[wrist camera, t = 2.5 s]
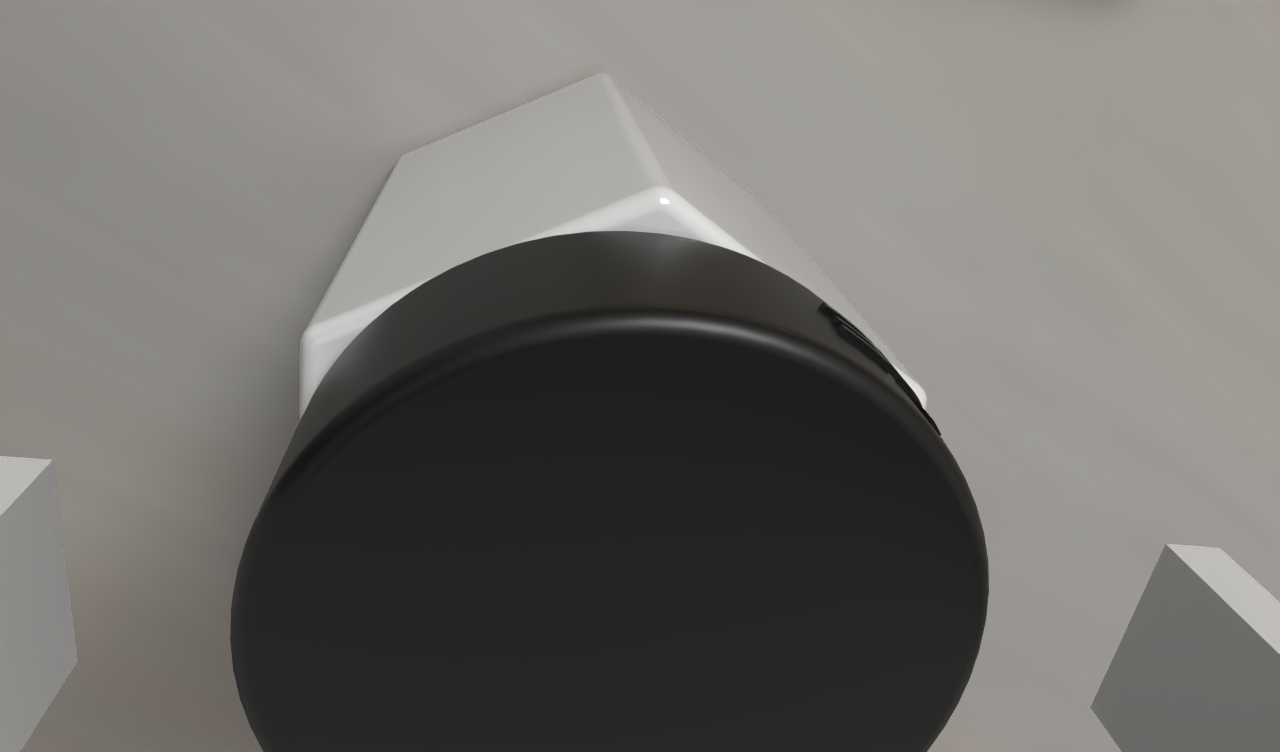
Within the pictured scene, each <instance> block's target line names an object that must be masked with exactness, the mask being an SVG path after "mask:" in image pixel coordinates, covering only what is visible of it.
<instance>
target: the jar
mask: <svg viewBox="0 0 1280 752" xmlns="http://www.w3.org/2000/svg"><path fill="white" fill-rule="evenodd" d="M926 406H927V396H926V394H925V391H924V389H923V388H922V386H921V385H920V384H919V383H918V382H917V381H916V379H915V378H914V377H913V376H912V375H911V374H910V372H909V371H908V370H907V369H906V368H905V367H904V365H903V364H902V363H901V362H900V361H899V360H898V358H897V357H896V356H895V355H894V354H893V353H892V351H891V350H890V349H889V348H888V347H887V346H886V344H885V343H884V342H883V341H882V340H881V339H880V337H879V336H878V335H877V334H876V333H875V332H874V330H873V329H872V328H871V327H870V326H869V325H868V323H867V322H866V321H865V320H864V319H863V318H862V316H861V315H860V314H859V313H858V312H857V310H856V309H855V308H854V307H853V306H852V305H851V303H850V302H849V301H848V300H847V299H846V298H845V296H844V295H843V294H842V293H841V292H840V291H839V289H838V288H837V287H836V286H835V285H834V284H833V282H832V281H831V280H830V279H829V278H828V277H827V275H826V274H825V273H824V272H823V271H822V270H821V268H820V267H819V266H818V265H817V264H816V262H815V261H814V260H813V259H812V258H811V257H810V255H809V254H808V253H807V252H806V251H805V250H804V248H803V247H802V246H801V245H800V244H799V243H798V241H797V240H796V239H795V238H794V237H793V236H792V234H791V233H790V232H789V231H788V230H787V229H786V227H785V226H784V225H783V224H782V223H781V222H780V220H779V219H778V218H777V217H776V216H775V214H774V213H773V212H772V211H771V210H770V209H769V207H768V206H767V205H766V204H765V203H764V202H763V201H762V200H761V199H759V198H758V197H757V196H756V195H755V194H753V193H752V192H751V191H750V190H749V189H747V188H746V187H745V186H744V185H742V184H741V183H740V182H739V181H738V180H736V179H735V178H734V177H733V176H732V175H730V174H729V173H728V172H727V171H725V170H724V169H723V168H722V167H721V166H719V165H718V164H717V163H716V162H714V161H713V160H712V159H711V158H710V157H708V156H707V155H706V154H705V153H704V152H702V151H701V150H700V149H699V148H697V147H696V146H695V145H694V144H693V143H691V142H690V141H689V140H688V139H687V138H685V137H684V136H683V135H682V134H680V133H679V132H678V131H677V130H676V129H674V128H673V127H672V126H671V125H669V124H668V123H667V122H666V121H665V120H663V119H662V118H661V117H660V116H659V115H657V114H656V113H655V112H654V111H652V110H651V109H650V108H649V107H648V106H646V105H645V104H644V103H643V102H642V101H640V100H639V99H638V98H637V97H635V96H634V95H633V94H632V93H631V92H629V91H628V90H627V89H626V88H624V87H623V86H622V85H621V84H620V83H618V82H617V81H616V80H615V79H614V78H612V77H611V76H609V75H607V74H604V73H600V74H595V75H593V76H591V77H588V78H586V79H584V80H581V81H579V82H576V83H574V84H572V85H569V86H567V87H565V88H562V89H560V90H558V91H555V92H553V93H550V94H548V95H546V96H543V97H541V98H538V99H536V100H534V101H531V102H529V103H526V104H524V105H522V106H519V107H517V108H514V109H512V110H510V111H507V112H505V113H503V114H500V115H498V116H495V117H493V118H491V119H488V120H486V121H483V122H481V123H479V124H476V125H474V126H471V127H469V128H467V129H464V130H462V131H459V132H457V133H455V134H452V135H450V136H447V137H445V138H443V139H440V140H438V141H435V142H433V143H430V144H428V145H426V146H423V147H421V148H418V149H416V150H413V151H411V152H409V153H406V154H404V155H402V156H401V157H400V158H399V159H398V160H397V162H396V164H395V166H394V168H393V169H392V171H391V173H390V175H389V177H388V179H387V180H386V182H385V184H384V186H383V188H382V190H381V191H380V193H379V195H378V197H377V199H376V201H375V202H374V204H373V206H372V208H371V210H370V212H369V213H368V215H367V217H366V219H365V221H364V223H363V224H362V226H361V228H360V230H359V232H358V234H357V235H356V237H355V239H354V241H353V243H352V245H351V246H350V248H349V250H348V252H347V254H346V256H345V257H344V259H343V261H342V263H341V265H340V267H339V268H338V270H337V272H336V274H335V276H334V278H333V279H332V281H331V283H330V285H329V287H328V288H327V290H326V292H325V294H324V296H323V298H322V299H321V301H320V303H319V305H318V307H317V309H316V310H315V312H314V314H313V316H312V318H311V320H310V321H309V323H308V325H307V327H306V329H305V330H304V332H303V334H302V336H301V340H300V375H299V425H298V427H297V429H296V431H295V433H294V436H293V438H292V440H291V442H290V444H289V447H288V449H287V451H286V453H285V455H284V458H283V460H282V462H281V464H280V466H279V469H278V471H277V473H276V475H275V477H274V480H273V482H272V484H271V486H270V488H269V491H268V493H267V495H266V497H265V499H264V502H263V504H262V506H261V508H260V510H259V513H258V515H257V517H256V519H255V521H254V524H253V526H252V529H251V531H250V534H249V536H248V539H247V541H246V544H245V546H244V550H243V553H242V557H241V560H240V564H239V567H238V571H237V576H236V581H235V586H234V592H233V599H232V608H231V635H230V641H231V651H232V661H233V671H234V675H235V679H236V683H237V688H238V692H239V696H240V700H241V702H242V705H243V708H244V711H245V713H246V716H247V719H248V721H249V724H250V726H251V728H252V730H253V732H254V734H255V736H256V738H257V740H258V742H259V744H260V746H261V748H262V749H263V751H264V752H927V751H928V749H929V748H930V747H931V745H932V744H933V742H934V741H935V740H936V738H937V737H938V735H939V734H940V733H941V731H942V730H943V728H944V727H945V725H946V723H947V722H948V720H949V718H950V716H951V715H952V713H953V711H954V710H955V708H956V706H957V705H958V703H959V700H960V698H961V696H962V694H963V692H964V689H965V687H966V685H967V683H968V681H969V679H970V676H971V673H972V670H973V667H974V664H975V661H976V658H977V655H978V652H979V648H980V644H981V640H982V635H983V631H984V626H985V621H986V614H987V604H988V595H989V573H988V557H987V550H986V543H985V537H984V532H983V528H982V525H981V521H980V517H979V514H978V510H977V507H976V504H975V501H974V499H973V496H972V494H971V491H970V489H969V486H968V484H967V481H966V479H965V477H964V475H963V473H962V471H961V470H960V468H959V466H958V464H957V462H956V460H955V458H954V457H953V455H952V454H951V452H950V450H949V449H948V447H947V446H946V444H945V443H944V441H943V440H942V438H941V437H940V435H941V433H940V431H939V429H938V428H937V426H936V424H935V422H934V421H933V419H932V418H931V417H930V416H929V414H928V413H927V412H926V411H925V410H926Z"/></svg>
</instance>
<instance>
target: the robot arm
mask: <svg viewBox="0 0 1280 752" xmlns="http://www.w3.org/2000/svg"><path fill="white" fill-rule="evenodd" d="M77 662H78V657H77V649H76V641H75V633H74V625H73V617H72V609H71V601H70V593H69V585H68V577H67V569H66V561H65V553H64V545H63V537H62V529H61V521H60V513H59V505H58V497H57V490H56V482H55V474H54V466H53V460H48V459H35V458H21V457H8V456H0V752H21V750H22V749H23V747H24V745H25V744H26V742H27V741H28V739H29V738H30V736H31V734H32V733H33V731H34V730H35V728H36V727H37V725H38V723H39V722H40V720H41V719H42V717H43V716H44V714H45V712H46V711H47V709H48V708H49V706H50V705H51V703H52V702H53V700H54V698H55V697H56V695H57V694H58V692H59V691H60V689H61V687H62V686H63V684H64V683H65V681H66V680H67V678H68V676H69V675H70V673H71V672H72V670H73V669H74V667H75V665H76V664H77ZM1091 709H1092V710H1093V711H1094V713H1095V714H1096V716H1097V717H1098V718H1099V720H1100V721H1101V723H1102V724H1103V725H1104V727H1105V728H1106V730H1107V731H1108V732H1109V734H1110V735H1111V737H1112V738H1113V739H1114V741H1115V742H1116V744H1117V745H1118V747H1119V748H1120V749H1121V751H1122V752H1280V602H1279V601H1278V600H1277V599H1276V598H1275V597H1273V596H1272V595H1271V594H1270V593H1269V592H1268V591H1267V590H1266V589H1265V588H1263V587H1262V586H1261V585H1260V584H1259V583H1258V582H1257V581H1256V580H1255V579H1253V578H1252V577H1251V576H1250V575H1249V574H1248V573H1247V572H1246V571H1245V570H1243V569H1242V568H1241V567H1240V566H1239V565H1238V564H1237V563H1236V562H1235V561H1233V560H1232V559H1231V558H1230V557H1229V556H1228V555H1227V554H1226V553H1225V552H1223V551H1222V550H1221V549H1220V548H1214V547H1201V546H1188V545H1174V544H1166V545H1165V547H1164V549H1163V551H1162V553H1161V555H1160V558H1159V560H1158V562H1157V564H1156V566H1155V569H1154V571H1153V573H1152V575H1151V577H1150V579H1149V582H1148V584H1147V586H1146V588H1145V590H1144V592H1143V595H1142V597H1141V599H1140V601H1139V603H1138V605H1137V608H1136V610H1135V612H1134V614H1133V616H1132V619H1131V621H1130V623H1129V625H1128V627H1127V629H1126V632H1125V634H1124V636H1123V638H1122V640H1121V642H1120V645H1119V647H1118V649H1117V651H1116V653H1115V656H1114V658H1113V660H1112V662H1111V664H1110V666H1109V669H1108V671H1107V673H1106V675H1105V677H1104V679H1103V682H1102V684H1101V686H1100V688H1099V690H1098V693H1097V695H1096V697H1095V699H1094V701H1093V703H1092V706H1091Z"/></svg>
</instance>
